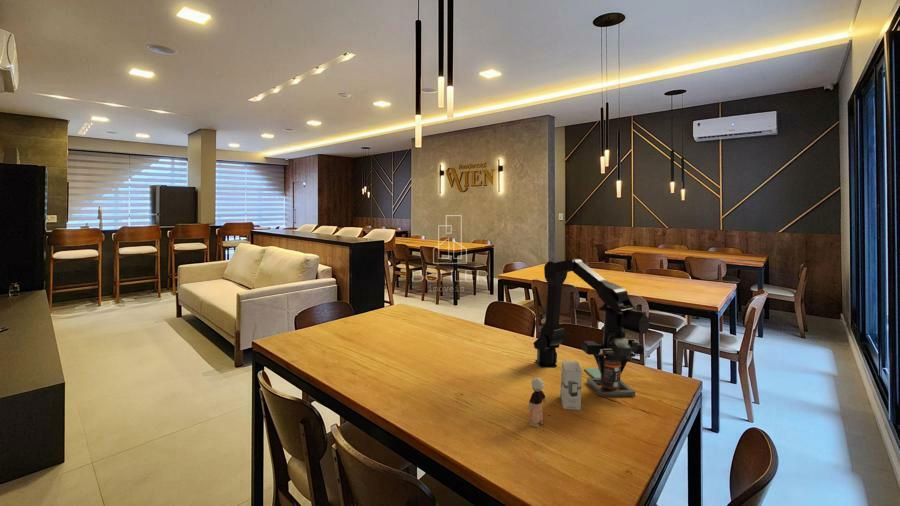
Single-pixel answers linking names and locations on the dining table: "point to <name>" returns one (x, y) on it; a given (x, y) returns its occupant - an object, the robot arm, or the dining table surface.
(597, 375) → the pad
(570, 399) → the ink box
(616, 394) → the grey square frame
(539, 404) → the grandmother figurine
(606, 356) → the supplement bottle
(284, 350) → the dining table surface
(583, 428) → the dining table surface
